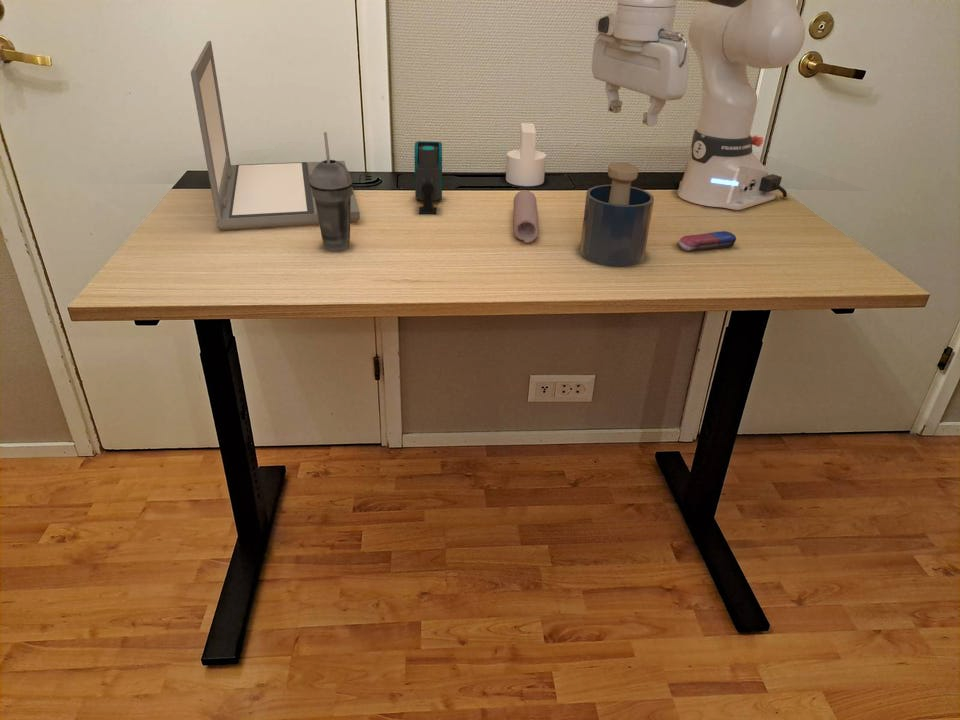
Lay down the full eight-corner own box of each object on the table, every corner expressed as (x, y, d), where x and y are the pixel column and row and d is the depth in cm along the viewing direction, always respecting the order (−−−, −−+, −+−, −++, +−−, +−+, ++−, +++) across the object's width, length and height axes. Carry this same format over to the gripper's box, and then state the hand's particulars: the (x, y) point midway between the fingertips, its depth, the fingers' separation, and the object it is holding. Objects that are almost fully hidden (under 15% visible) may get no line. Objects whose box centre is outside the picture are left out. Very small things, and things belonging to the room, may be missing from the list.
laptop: (360, 224, 135) (350, 68, 120) (217, 233, 129) (188, 70, 114) (345, 171, 164) (335, 40, 149) (227, 176, 158) (205, 40, 143)
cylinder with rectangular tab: (545, 186, 159) (549, 133, 153) (506, 185, 159) (508, 132, 153) (542, 175, 167) (546, 123, 160) (505, 173, 167) (507, 122, 160)
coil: (541, 221, 127) (538, 190, 143) (516, 218, 127) (515, 187, 142) (536, 245, 130) (534, 212, 145) (511, 241, 130) (512, 209, 145)
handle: (620, 242, 129) (632, 162, 121) (629, 256, 124) (642, 173, 116) (595, 242, 129) (605, 162, 121) (602, 256, 124) (614, 173, 116)
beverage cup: (322, 257, 121) (311, 141, 111) (311, 242, 127) (299, 130, 116) (362, 250, 124) (355, 137, 114) (349, 236, 130) (341, 127, 119)
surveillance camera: (412, 154, 135) (414, 141, 143) (413, 213, 141) (415, 197, 150) (441, 154, 135) (442, 141, 144) (441, 214, 141) (442, 198, 150)
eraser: (685, 253, 128) (687, 244, 127) (674, 244, 132) (675, 235, 131) (738, 246, 131) (740, 237, 130) (725, 238, 134) (727, 229, 133)
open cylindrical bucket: (618, 238, 134) (626, 181, 128) (657, 260, 125) (667, 201, 119) (567, 246, 129) (573, 189, 123) (604, 270, 120) (612, 209, 114)
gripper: (706, 33, 100) (688, 131, 108) (620, 17, 116) (610, 104, 123) (671, 35, 98) (656, 135, 105) (589, 18, 113) (581, 106, 121)
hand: (631, 118), depth 114 cm, fingers open, 8 cm apart
